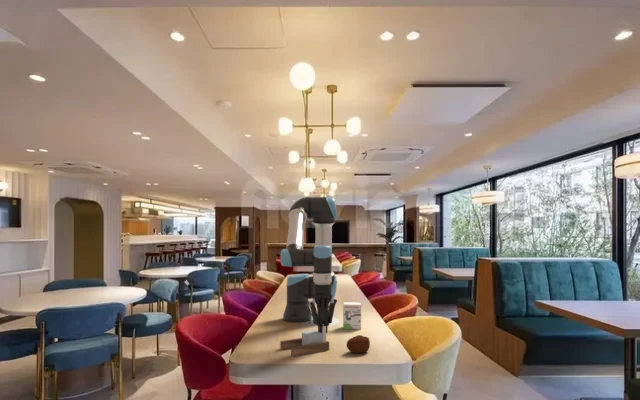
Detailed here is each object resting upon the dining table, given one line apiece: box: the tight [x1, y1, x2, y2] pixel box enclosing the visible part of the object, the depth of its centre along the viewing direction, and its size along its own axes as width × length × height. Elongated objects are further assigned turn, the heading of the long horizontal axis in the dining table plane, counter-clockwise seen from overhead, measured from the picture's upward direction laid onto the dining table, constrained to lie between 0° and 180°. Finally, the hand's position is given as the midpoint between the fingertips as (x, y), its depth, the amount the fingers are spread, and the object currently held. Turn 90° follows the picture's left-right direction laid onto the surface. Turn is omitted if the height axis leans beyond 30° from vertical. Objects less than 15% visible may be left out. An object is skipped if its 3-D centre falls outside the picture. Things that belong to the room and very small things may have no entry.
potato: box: [345, 334, 371, 354], centre depth 153 cm, size 7×9×6 cm
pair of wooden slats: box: [279, 337, 330, 357], centre depth 157 cm, size 11×16×3 cm
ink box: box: [342, 301, 362, 330], centre depth 191 cm, size 9×5×12 cm, turn 88°
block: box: [301, 329, 322, 345], centre depth 158 cm, size 6×6×6 cm
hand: (322, 341), depth 161 cm, fingers closed
